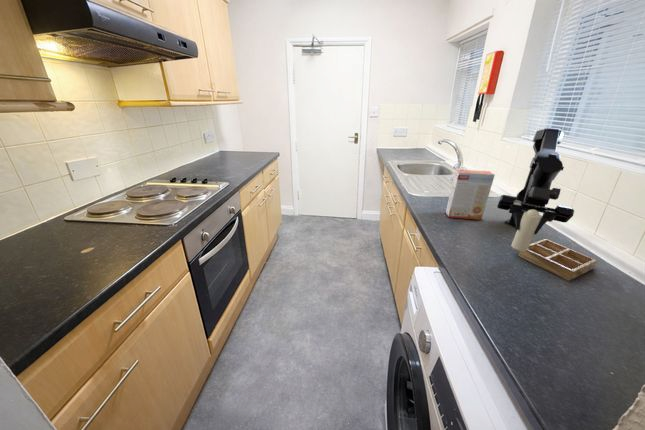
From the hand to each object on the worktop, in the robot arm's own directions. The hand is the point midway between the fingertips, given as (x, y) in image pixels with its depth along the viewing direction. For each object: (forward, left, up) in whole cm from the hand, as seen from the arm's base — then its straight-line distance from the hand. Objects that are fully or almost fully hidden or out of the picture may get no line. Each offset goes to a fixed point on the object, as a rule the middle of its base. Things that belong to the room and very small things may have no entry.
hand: (526, 231), depth 83 cm
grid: (-13, +6, -11) cm, 18 cm away
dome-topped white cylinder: (-1, -1, -7) cm, 7 cm away
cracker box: (-15, -32, -12) cm, 37 cm away
